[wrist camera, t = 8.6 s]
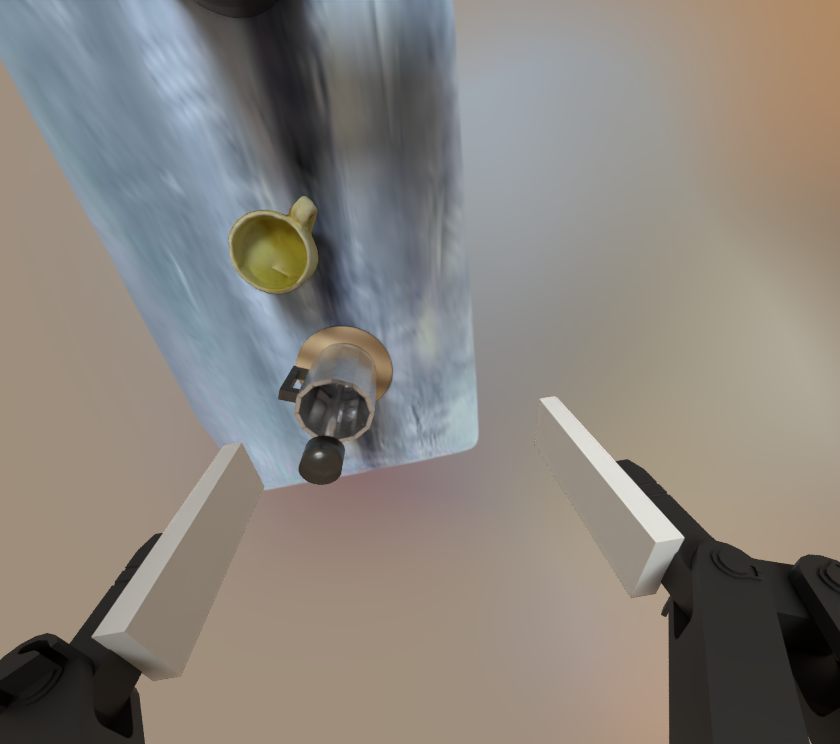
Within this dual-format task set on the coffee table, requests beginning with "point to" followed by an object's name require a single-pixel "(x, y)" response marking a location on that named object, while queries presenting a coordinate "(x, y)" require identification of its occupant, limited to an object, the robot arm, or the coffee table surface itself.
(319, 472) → the plunger
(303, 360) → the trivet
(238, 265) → the mug
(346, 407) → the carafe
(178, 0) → the coffee table surface
